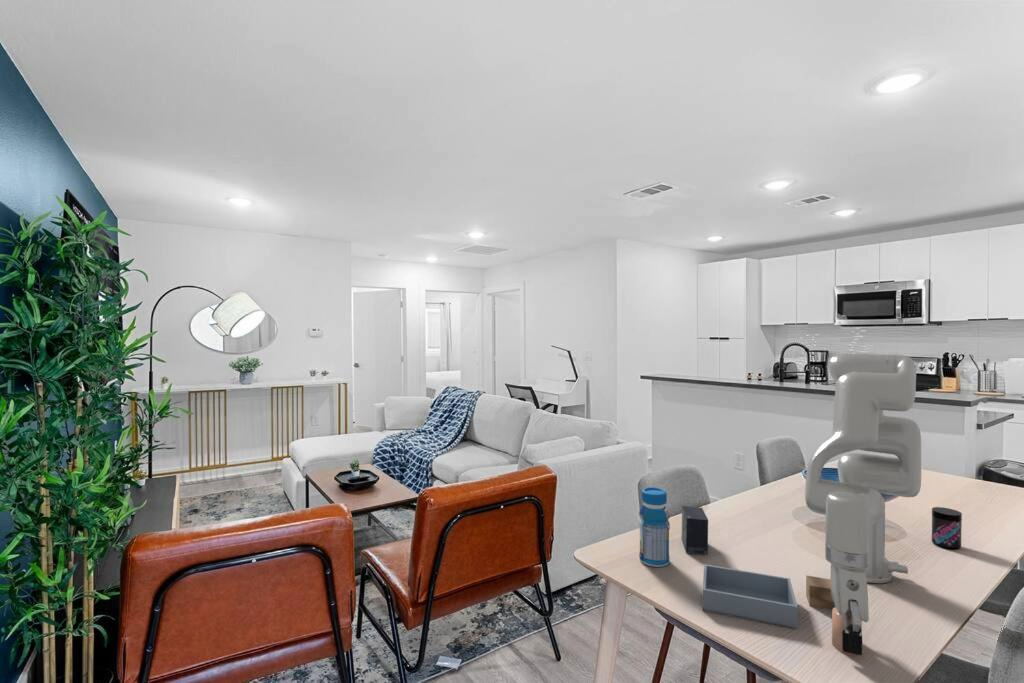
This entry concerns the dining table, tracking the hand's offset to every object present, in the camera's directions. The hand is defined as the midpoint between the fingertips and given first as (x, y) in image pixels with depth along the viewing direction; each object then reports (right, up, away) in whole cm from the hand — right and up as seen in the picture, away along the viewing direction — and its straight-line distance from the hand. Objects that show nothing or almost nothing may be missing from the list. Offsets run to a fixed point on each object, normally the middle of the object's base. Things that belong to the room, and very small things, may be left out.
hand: (846, 638), depth 101 cm
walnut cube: (+5, -1, +17) cm, 17 cm away
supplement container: (+61, 0, +46) cm, 76 cm away
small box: (-14, -1, +47) cm, 49 cm away
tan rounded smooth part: (0, -2, 0) cm, 2 cm away
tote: (-13, -2, +16) cm, 20 cm away
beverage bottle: (-28, -1, +38) cm, 48 cm away
